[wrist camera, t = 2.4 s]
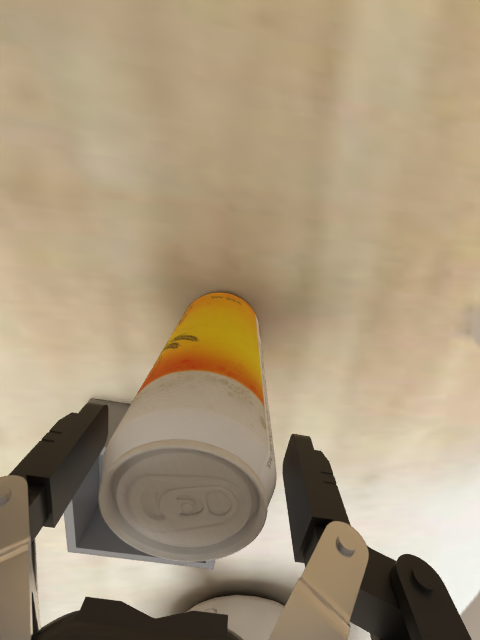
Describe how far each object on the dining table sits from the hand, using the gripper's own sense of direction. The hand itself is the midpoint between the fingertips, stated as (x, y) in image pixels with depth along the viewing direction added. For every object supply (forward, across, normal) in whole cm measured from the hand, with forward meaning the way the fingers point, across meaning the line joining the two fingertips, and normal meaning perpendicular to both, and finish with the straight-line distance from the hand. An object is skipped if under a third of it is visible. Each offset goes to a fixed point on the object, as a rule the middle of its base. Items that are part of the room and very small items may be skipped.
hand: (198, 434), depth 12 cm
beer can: (+12, 0, 0) cm, 12 cm away
